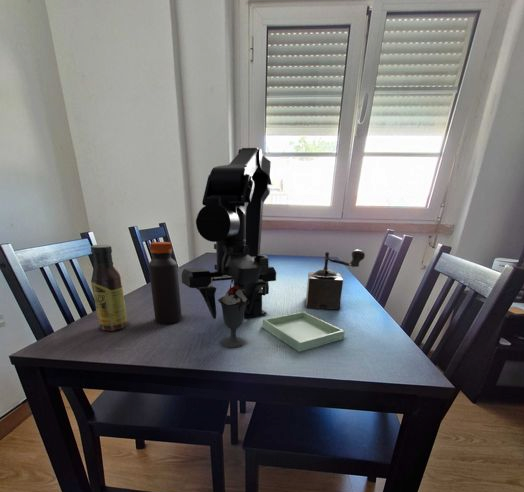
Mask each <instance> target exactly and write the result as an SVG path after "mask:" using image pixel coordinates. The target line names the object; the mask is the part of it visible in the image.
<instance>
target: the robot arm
mask: <svg viewBox="0 0 524 492" xmlns="http://www.w3.org/2000/svg"><path fill="white" fill-rule="evenodd" d="M272 165H273V164H272V162H271V161H270V159H268V158H267V157H266V156H264V155H263V151H262V148H259V147H242V148H239V149H238V152H237V154H236V156H235V157H234V158H233V159H232V161H231V162H230V163H228V164H224V165H218V166H214V167H212V169H211V170H210V173H209V174H208V176H207V180H206V186H205V189H204V193H203V196H202V202H201V204H202V208H200V210H199V212H198V213H197V216H196V218H195V225H196V230H197V232H198V233H199V235H200V236H201V238H202V239H204V240H206V241H208V242H212V243H213V249H214V250H215V251H216V252H215V253H216V255H215V256H216V264H214V266H213V267H214V271H210V270H208V269H205V268H203V267H191V268H189V267H188V268H184V269H183V270H182V271H181V283H182V284H184V285H185V286H186V287H188V288H190V289H196V290H198V291H199V293H200V294H201V296H202V297H203V299H204V303H205V304H206V306H207V308H208V311H209V313H210V315H211V318H212V319H213V320H215V319H217V306H216V291H217V287H216V286H214V284H213V282H218V281H219V282H220V281H231V280H233V283H234V285H237V286H238V287H239V288H241V289H242V290H243V291H245V292H246V294H245V297H247V298H248V299H249V304H247V305H246V307H245V313H244V318H247V319H248V318H249V319H250V318H254V317H255V318H256V317H259V316H264V315H267V311H264V310H263V296H264V297H265V296H266V295H269V294H270V285H269V282H276V281H277V271H276V268H274V266H270V265H269V264H270V263H269V257H268V256H267V255H266V254H261V244H262V230H263V229H262V228H263V214H264V203H265V202H266V200H267V198H268V197H269V195H270V193H271V186H272V185H273V183H274V170H273V166H272ZM243 207H245V209H244V208H243ZM234 285H233V286H234Z"/></svg>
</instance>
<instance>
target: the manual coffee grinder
mask: <svg viewBox="0 0 524 492" xmlns="http://www.w3.org/2000/svg"><path fill="white" fill-rule="evenodd" d="M324 255H325V256H324V267H323V268H321V269H319V270H317V271H309V272H308V274H307V282H306V284H307V285H306V294H305V307H306V309H314V310H315V309H317V310H341V300H342V294H343V293H342V291H343V286H344V279H343V277H342V275H341V273H336V272H335V271H333V270H331V269H329V268H328V265H329V262H331V263H336V264H339V265H344V266H347V267H349V268H359V267H360V262H362V261H363V260H364V259H365V257H366V253H365V252H364V251H363V250H361V249H354V250H352V252H351V261H350V262H346V261H342V260H338V259H333V258H331V257H330V252H329V251H326V252H325V253H324Z"/></svg>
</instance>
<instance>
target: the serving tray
mask: <svg viewBox="0 0 524 492" xmlns="http://www.w3.org/2000/svg"><path fill="white" fill-rule="evenodd" d="M262 328H263V329H264V330H266V331H268V332H269V333H271V334H272V335H273V336H275V337H276V338H278V339H279V340H281V341H282V342H284V343H285V344H287V345H289V346H290V347H292V348H293V349H295V350H296V351H298V352H299V353H300V352H304V351H307V350H311V349H314V348H316V347H321V346H323V345H328V344H330V343H334V342H338V341H341V340H344V339H345V338H344V337H345V332H346V331H345V330H344V329H343V328H339V327H338V326H335V325H334V324H332V323H329V322H327V321H325V320H322V319H321V318H318V317H316V316H314V315H312V314H310V313H308V312H306V311H297V312H294V313H289V314H284V315H279V316H274V317H268V318H265V319H262Z"/></svg>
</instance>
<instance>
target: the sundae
mask: <svg viewBox="0 0 524 492" xmlns="http://www.w3.org/2000/svg"><path fill="white" fill-rule="evenodd" d="M232 285H233V286H232ZM226 291H227V292H225V295H223V296H222V297H220V298H218V299H217V302H219V303H220V305H221V306H220V307H221V311H222V318H223V323H224V325H225V326H226V327H227V328H228V329H229V330H230V334H229V335H230V336H229V337H226V338H223V340H222V342H221V344H222V346H224V347H226V348H230V349H235V348H240V347H243V345H244V344H245V340H243V339H242V338H240V337H237V330H238V329H239V328H240V327H241V326H242V325H243V323H244V319H245V316H244V313H245V307H246V305H247V304H249V299H248V298H247V297H245V294H246V292H245V291H243V290H242V289H241V288H239V287H238V286H237V285H234V280H230V285H229V288H228V290H226Z"/></svg>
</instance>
